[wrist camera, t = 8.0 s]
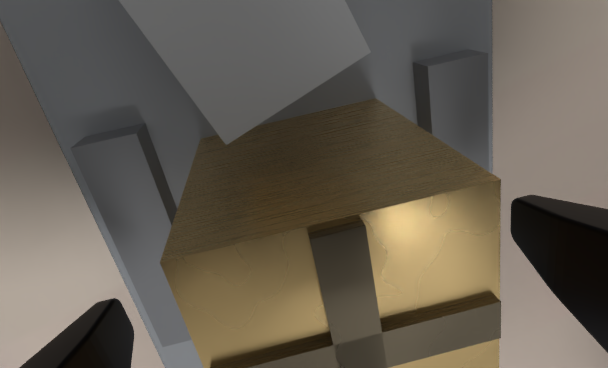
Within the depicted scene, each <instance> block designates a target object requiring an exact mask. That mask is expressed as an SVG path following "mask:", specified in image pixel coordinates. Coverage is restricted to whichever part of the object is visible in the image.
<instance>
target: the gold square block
mask: <svg viewBox="0 0 608 368" xmlns="http://www.w3.org/2000/svg"><path fill="white" fill-rule="evenodd" d="M500 187H501V179H499V178H498V177H496V176H495V175H493V174H492V173H490V172H488V171H487V170H485V169H484V168H482V167H481V166H479V165H478V164H476V163H475V162H473V161H472V160H470V159H468V158H467V157H465V156H464V155H462V154H461V153H459V152H458V151H456V150H455V149H453V148H452V147H450V146H449V145H447V144H445V143H444V142H442V141H441V140H439V139H438V138H436V137H435V136H433V135H432V134H430V133H429V132H427V131H425V130H424V129H422V128H421V127H419V126H418V125H416V124H415V123H413V122H412V121H410V120H409V119H407V118H406V117H404V116H402V115H401V114H399V113H398V112H396V111H395V110H393V109H392V108H390V107H389V106H387V105H386V104H384V103H382V102H381V101H379V100H378V99H376V98H375V99H371V100H366V101H362V102H358V103H353V104H349V105H345V106H340V107H336V108H332V109H327V110H323V111H319V112H314V113H310V114H306V115H301V116H297V117H293V118H288V119H284V120H280V121H275V122H271V123H266V124H262V125H258V126H255V127H254V128H252V129H251V130H249V131H248V132H246V133H244V134H243V135H241V136H240V137H238V138H237V139H235V140H234V141H232V142H230V143H229V144H227V145H226V144H225V143H224V142H223V140H222V139H221V138H220V136H219V135H214V136H210V137H206V138H201V139H200V142H199V145H198V148H197V151H196V154H195V157H194V160H193V163H192V166H191V169H190V172H189V175H188V178H187V181H186V184H185V187H184V190H183V193H182V196H181V200H180V203H179V206H178V209H177V212H176V215H175V218H174V221H173V224H172V227H171V230H170V233H169V236H168V239H167V242H166V245H165V248H164V251H163V254H162V257H161V260H160V264H161V267H162V269H163V272H164V274H165V276H166V279H167V281H168V284H169V286H170V288H171V291H172V293H173V296H174V298H175V300H176V303H177V305H178V307H179V310H180V312H181V315H182V317H183V319H184V322H185V324H186V327H187V329H188V331H189V334H190V336H191V339H192V341H193V343H194V346H195V348H196V351H197V353H198V355H199V358H200V360H201V363H202V365H203V367H204V368H499V338H501V301H500Z"/></svg>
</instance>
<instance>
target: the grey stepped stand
mask: <svg viewBox="0 0 608 368" xmlns="http://www.w3.org/2000/svg"><path fill="white" fill-rule="evenodd" d="M0 21H1V23H2V25H3V27H4V29H5V31H6V33H7V36H8V38H9V40H10V42H11V44H12V46H13V48H14V50H15V52H16V55H17V57H18V59H19V61H20V63H21V65H22V67H23V69H24V71H25V74H26V76H27V78H28V80H29V82H30V84H31V86H32V88H33V90H34V92H35V95H36V97H37V99H38V101H39V103H40V105H41V107H42V109H43V111H44V114H45V116H46V118H47V120H48V122H49V124H50V126H51V128H52V130H53V133H54V135H55V137H56V139H57V141H58V143H59V145H60V147H61V149H62V151H63V154H64V156H65V158H66V160H67V162H68V164H69V166H70V168H71V170H72V173H73V175H74V177H75V179H76V181H77V183H78V185H79V187H80V189H81V192H82V194H83V196H84V198H85V200H86V202H87V204H88V206H89V208H90V211H91V213H92V215H93V217H94V219H95V221H96V223H97V225H98V227H99V229H100V232H101V234H102V236H103V238H104V240H105V242H106V244H107V246H108V248H109V251H110V253H111V255H112V257H113V259H114V261H115V263H116V265H117V267H118V270H119V272H120V274H121V276H122V278H123V280H124V282H125V284H126V286H127V289H128V291H129V293H130V295H131V297H132V299H133V301H134V303H135V305H136V307H137V310H138V312H139V314H140V316H141V318H142V320H143V322H144V324H145V326H146V329H147V331H148V333H149V335H150V337H151V339H152V341H153V343H154V345H155V348H156V350H157V352H158V354H159V356H160V358H161V360H162V362H163V364H164V366H165V368H204V367H203V365H202V363H201V360H200V358H199V355H198V353H197V351H196V348H195V346H194V343H193V341H192V339H191V336H190V334H189V331H188V329H187V327H186V324H185V322H184V319H183V317H182V315H181V312H180V310H179V307H178V305H177V303H176V300H175V298H174V296H173V293H172V291H171V288H170V286H169V284H168V281H167V279H166V276H165V274H164V272H163V269H162V267H161V264H160V260H161V257H162V254H163V251H164V248H165V245H166V242H167V239H168V236H169V233H170V230H171V227H172V224H173V221H174V218H175V215H176V212H177V209H178V206H179V203H180V200H181V196H182V193H183V190H184V187H185V184H186V181H187V178H188V175H189V172H190V169H191V166H192V163H193V160H194V157H195V154H196V151H197V148H198V145H199V142H200V139H201V138H206V137H210V136H214V135H219V136H220V138H221V139H222V140H223V142H224V143H225V144H226V145H227V144H229V143H230V142H232V141H234V140H235V139H237V138H238V137H240V136H241V135H243V134H244V133H246V132H248V131H249V130H251V129H252V128H254V127H255V126H258V125H262V124H266V123H271V122H275V121H280V120H284V119H288V118H293V117H297V116H301V115H306V114H310V113H314V112H319V111H323V110H327V109H332V108H336V107H340V106H345V105H349V104H353V103H358V102H362V101H366V100H371V99H375V98H376V99H378V100H379V101H381V102H382V103H384V104H386V105H387V106H389V107H390V108H392V109H393V110H395V111H396V112H398V113H399V114H401V115H402V116H404V117H406V118H407V119H409V120H410V121H412V122H413V123H415V124H416V125H418V126H419V127H421V128H422V129H424V130H425V131H427V132H429V133H430V134H432V135H433V136H435V137H436V138H438V139H439V140H441V141H442V142H444V143H445V144H447V145H449V146H450V147H452V148H453V149H455V150H456V151H458V152H459V153H461V154H462V155H464V156H465V157H467V158H468V159H470V160H472V161H473V162H475V163H476V164H478V165H479V166H481V167H482V168H484V169H485V170H487V171H488V172H490V173H492V0H0Z"/></svg>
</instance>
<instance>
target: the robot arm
mask: <svg viewBox="0 0 608 368" xmlns="http://www.w3.org/2000/svg"><path fill="white" fill-rule="evenodd" d="M511 234H512V237H513V239H514V241H515V242H516V244H517V245H518V246H519V248H520V249H521V250H522V252H523V253H524V255H525V256H526V257H527V259H528V260H529V261H530V263H531V264H532V265H533V267H534V268H535V269H536V271H537V272H538V273H539V275H540V276H541V278H542V279H543V280H544V282H545V283H546V284H547V286H548V287H549V288H550V289H551V291H552V292H553V293H554V294H555V295H556V297H557V298H558V299H559V300H560V301H561V302H562V303H563V304H564V306H565V307H566V308H567V309H568V310H569V311H570V312H571V313H572V314H573V315H574V316H575V318H576V319H577V320H578V321H579V322H580V323H581V324H582V325H583V326H584V327H585V329H586V330H587V331H588V332H589V333H590V334H591V335H592V336H593V337H594V338H595V339H596V341H597V342H598V343H599V344H600V345H601V346H602V347H603V348H604V349H605V350H606V352H607V353H608V209H603V208H598V207H593V206H588V205H583V204H578V203H572V202H567V201H562V200H557V199H552V198H546V197H541V196H536V195H527V196H523V197H519V198H516V199H514V200H513V201H512V204H511ZM133 342H134V330H133V326H132V324H131V322H130V320H129V318H128V316H127V314H126V312H125V310H124V308H123V306H122V304H121V302H120V301H119V300H118V299H115V298H113V299H109V300H105V301H101V302H98V303H96V304H95V305H93V306H92V307H91V308H90V309H89V310H87V311H86V312H85V313H84V314H83V315H81V316H80V317H79V318H78V319H77V320H76V321H74V322H73V323H72V324H71V325H70V326H68V327H67V328H66V329H65V330H64V331H62V332H61V333H60V334H59V335H58V336H57V337H55V338H54V339H53V340H52V341H51V342H49V343H48V344H47V345H46V346H45V347H43V348H42V349H41V350H40V351H39V352H38V353H36V354H35V355H34V356H33V357H32V358H30V359H29V360H28V361H27V362H26V363H24V364H23V365H22V366H21V367H20V368H131V360H132V351H133Z"/></svg>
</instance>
